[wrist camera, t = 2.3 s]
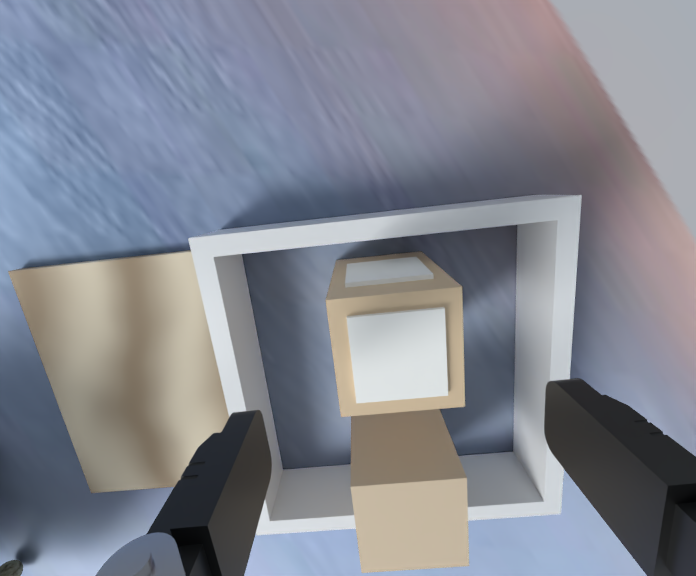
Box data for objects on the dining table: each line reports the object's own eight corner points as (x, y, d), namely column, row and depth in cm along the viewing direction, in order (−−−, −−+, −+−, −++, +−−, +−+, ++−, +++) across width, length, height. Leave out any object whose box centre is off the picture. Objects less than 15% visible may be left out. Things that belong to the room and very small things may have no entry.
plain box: (428, 380, 22) (467, 478, 15) (431, 445, 24) (468, 565, 16) (351, 387, 23) (350, 486, 15) (359, 450, 24) (361, 572, 16)
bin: (536, 194, 19) (581, 195, 15) (527, 462, 24) (560, 514, 20) (220, 229, 20) (188, 238, 16) (271, 482, 25) (256, 535, 21)
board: (215, 247, 20) (209, 249, 20) (262, 471, 25) (259, 480, 24) (20, 268, 21) (8, 271, 20) (99, 483, 25) (91, 493, 24)
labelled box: (420, 247, 20) (463, 282, 12) (425, 330, 22) (466, 409, 14) (335, 256, 20) (324, 296, 13) (345, 337, 22) (340, 420, 14)
